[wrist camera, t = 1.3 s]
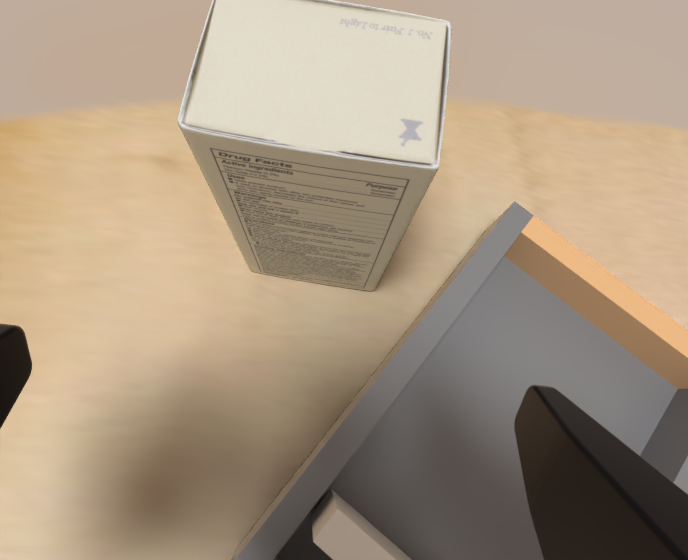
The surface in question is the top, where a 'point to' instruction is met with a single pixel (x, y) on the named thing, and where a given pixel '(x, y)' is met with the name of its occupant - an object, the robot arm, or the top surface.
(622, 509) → the robot arm
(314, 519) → the pusher
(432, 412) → the tray
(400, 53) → the skincare box
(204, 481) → the top surface
